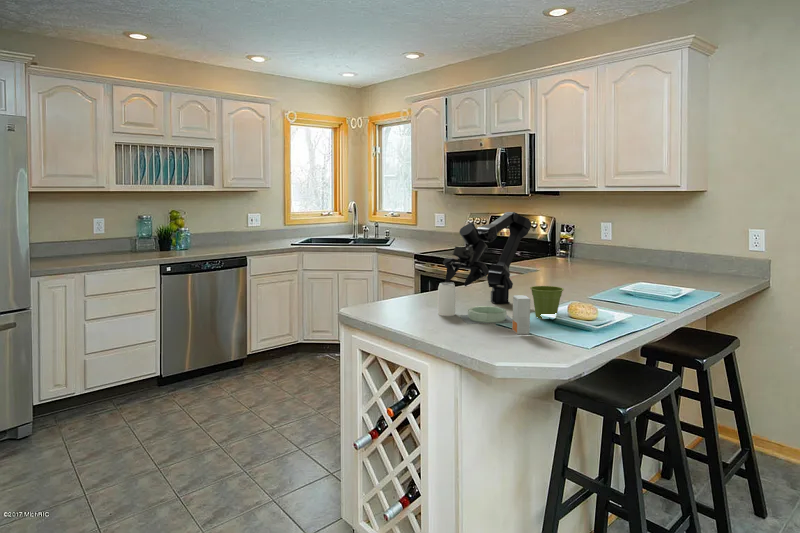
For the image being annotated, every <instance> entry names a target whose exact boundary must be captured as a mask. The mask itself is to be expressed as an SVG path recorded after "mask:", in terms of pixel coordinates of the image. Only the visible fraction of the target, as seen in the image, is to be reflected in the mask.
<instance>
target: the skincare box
mask: <svg viewBox="0 0 800 533" xmlns="http://www.w3.org/2000/svg"><path fill="white" fill-rule="evenodd" d="M511 318H512V323H511V324H512V325H511V330H512V331H513V332H514V333H515V334H517V335H526V336H527V335H528V336H529V335H530V331H531V330H530V328H531V327H530V324H531V298H530V297H528V296H527V295H525V294H524V295H523V294H520V295H519V294H517V295H513V296H512V317H511Z"/></svg>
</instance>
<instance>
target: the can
mask: <svg viewBox="0 0 800 533" xmlns="http://www.w3.org/2000/svg"><path fill="white" fill-rule="evenodd" d="M437 290H438V291H437V315H438V316H442V317H453V316H456V296H457V295H456V293H457V292H456V290H457V289H456V286H455V283H454V282H450V281H449V282H445V281H444V282H443V281H442V282H440V283H439V285H438V287H437Z"/></svg>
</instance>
